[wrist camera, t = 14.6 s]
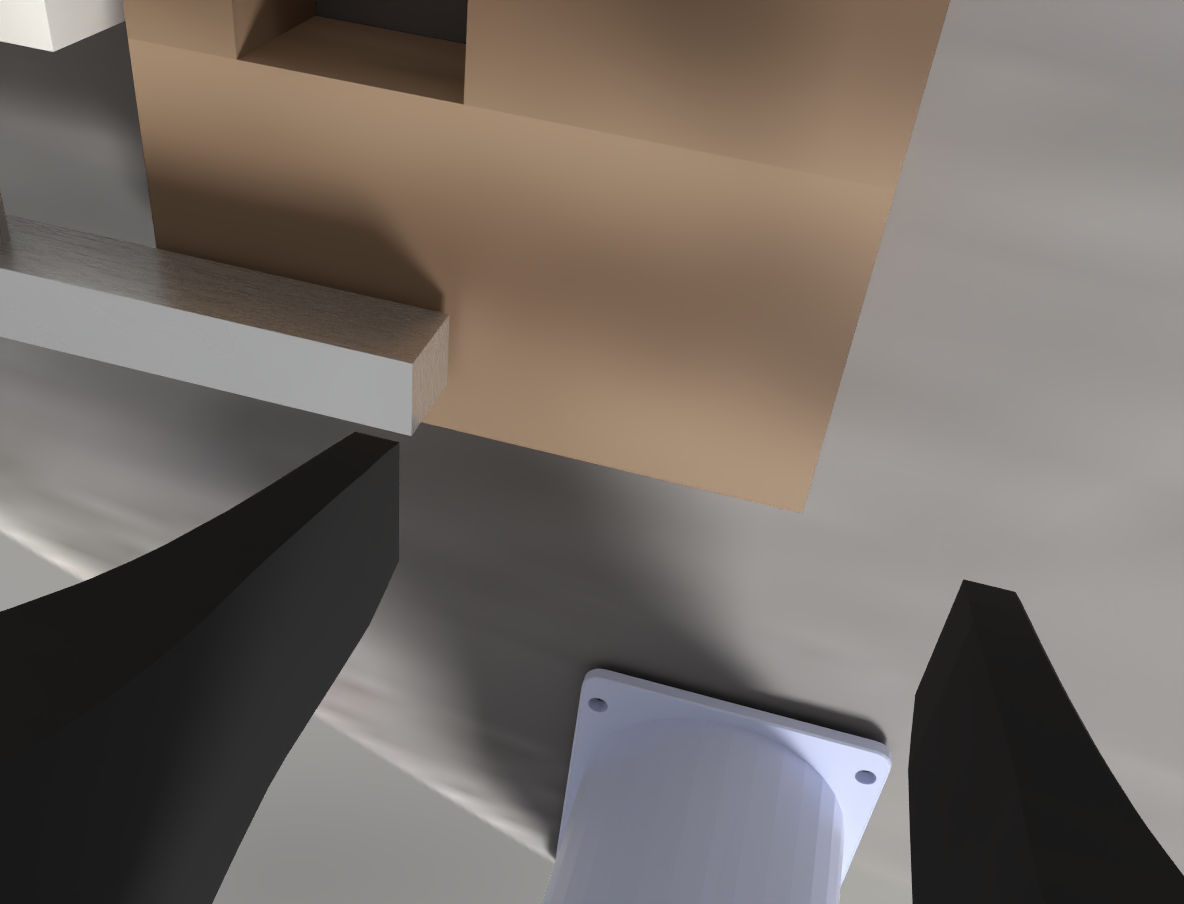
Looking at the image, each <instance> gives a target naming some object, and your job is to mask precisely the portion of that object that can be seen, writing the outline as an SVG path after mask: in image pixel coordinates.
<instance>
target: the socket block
mask: <svg viewBox="0 0 1184 904" xmlns="http://www.w3.org/2000/svg"><path fill="white" fill-rule="evenodd" d="M949 3H950V0H468V9H467V34H466V44H462V43H457V42H452V41H447V40H441V39H436V38H431V37H425V36H420V35H415V34H410V33H404V32H399V31H394V30H389V29H383V28H378V27H373V26H368V25H362V24H357V23H352V22H347V21H341V20H336V19H331V18H326V17H320V16H316V12H315V0H123V7H124V15H125V22H126V29H127V36H128V44H129V51H130V58H131V65H132V73H133V80H134V87H135V94H136V102H137V109H138V116H139V123H140V131H141V138H142V145H143V153H144V160H145V167H146V174H147V182H148V189H149V196H150V203H151V211H152V218H153V225H154V232H155V240H156V247H157V249H161V250H165V251H170V252H174V253H179V254H183V255H187V256H192V257H196V258H201V259H205V260H210V261H214V262H219V263H223V264H227V265H232V266H236V267H241V268H245V269H250V270H254V271H259V272H263V273H267V274H272V275H276V276H281V277H285V278H290V279H294V280H299V281H303V282H307V283H312V284H316V285H321V286H325V287H330V288H334V289H339V290H343V291H347V292H352V293H356V294H361V295H365V296H370V297H374V298H379V299H383V300H388V301H392V302H396V303H401V304H405V305H410V306H414V307H419V308H423V309H428V310H432V311H436V312H441V313H445V314H450V315H449V343H448V370H447V385H446V386H445V388H444V389H443V391H442V392H441V393H440V395H439V396H438V398H437V399H436V401H435V402H434V404H433V405H432V407H431V408H430V410H429V411H428V413H427V414H426V416H425V417H424V418H423V420H422V421H421V422H423V423H427V424H431V425H435V426H439V427H443V428H448V429H452V430H456V431H460V432H464V433H468V434H473V435H477V436H481V437H485V438H489V439H494V440H498V441H502V442H506V443H510V444H514V445H519V446H523V447H527V448H531V449H535V450H540V451H544V452H548V453H552V454H556V455H560V456H565V457H569V458H573V459H577V460H581V461H585V462H590V463H594V464H598V465H602V466H606V467H611V468H615V469H619V470H623V471H627V472H631V473H636V474H640V475H644V476H648V477H652V478H656V479H661V480H665V481H669V482H673V483H677V484H682V485H686V486H690V487H694V488H698V489H702V490H707V491H711V492H715V493H719V494H723V495H727V496H732V497H736V498H740V499H744V500H748V501H753V502H757V503H761V504H765V505H769V506H773V507H778V508H782V509H786V510H790V511H794V512H798V513H803V510H804V506H805V503H806V500H807V496H808V493H809V489H810V486H811V482H812V479H813V475H814V472H815V468H816V465H817V461H818V458H819V454H820V451H821V447H822V444H823V440H824V437H825V433H826V430H827V427H828V423H829V420H830V416H831V413H832V409H833V406H834V402H835V399H836V395H837V392H838V388H839V385H840V381H841V378H842V374H843V371H844V367H845V364H846V360H847V357H848V354H849V350H850V347H851V343H852V340H853V336H854V333H855V329H856V326H857V322H858V319H859V315H860V312H861V308H862V305H863V301H864V298H865V294H866V291H867V288H868V284H869V281H870V277H871V274H872V270H873V267H874V263H875V260H876V256H877V253H878V249H879V246H880V242H881V239H882V235H883V232H884V228H885V225H886V221H887V218H888V215H889V211H890V208H891V204H892V201H893V197H894V194H895V190H896V187H897V183H898V180H899V176H900V173H901V169H902V166H903V162H904V159H905V155H906V152H907V148H908V145H909V142H910V138H911V135H912V131H913V128H914V124H915V121H916V117H917V114H918V110H919V107H920V103H921V100H922V96H923V93H924V89H925V86H926V82H927V79H928V76H929V72H930V69H931V65H932V62H933V58H934V55H935V51H936V48H937V44H938V41H939V37H940V34H941V30H942V27H943V23H944V20H945V16H946V13H947V9H948V6H949Z"/></svg>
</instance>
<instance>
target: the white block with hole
mask: <svg viewBox="0 0 1184 904" xmlns="http://www.w3.org/2000/svg"><path fill="white" fill-rule="evenodd" d="M124 21H125V15H124V7H123V0H0V41H2V42H7V43H12V44H17V45H22V46H27V47H32V48H36V49H41V50H46V51H51V52H54V51H57V50H59V49H61V48H64V47H66V46H68V45H71V44H73V43H75V42H78V41H80V40H82V39H85V38H87V37H89V36H92V35H94V34H96V33H98V32H101V31H103V30H105V29H108V28H110V27H112V26H115V25H117V24H119V23H122V22H124Z"/></svg>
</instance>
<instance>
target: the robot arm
mask: <svg viewBox="0 0 1184 904" xmlns="http://www.w3.org/2000/svg"><path fill="white" fill-rule="evenodd" d="M398 561H399V442H395V441H391V440H387V439H383V438H379V437H374V436H370V435H366V434H362V433H358V432H354V433H353V434H351V435H349V436H348V437H346V438H344V439H343V440H341V441H339V442H338V443H336V444H335V445H333V446H331V447H330V448H328V449H327V450H325V451H323V452H322V453H320V454H319V455H317V456H315V457H314V458H312V459H311V460H309V461H308V462H306V463H304V464H303V465H301V466H300V467H298V468H297V469H295V470H293V471H292V472H290V473H289V474H287V475H286V476H284V477H282V478H281V479H279V480H278V481H276V482H274V483H273V484H271V485H270V486H268V487H266V488H265V489H263V490H261V491H260V492H258V493H256V494H255V495H253V496H251V497H250V498H248V499H246V500H245V501H243V502H241V503H240V504H238V505H237V506H235V507H233V508H232V509H230V510H228V511H226V512H225V513H223V514H221V515H219V516H217V517H215V518H214V519H212V520H210V521H208V522H206V523H204V524H203V525H201V526H199V527H197V528H195V529H193V530H192V531H190V532H188V533H186V534H184V535H182V536H181V537H179V538H177V539H175V540H173V541H171V542H170V543H168V544H166V545H164V546H162V547H160V548H158V549H156V550H154V551H152V552H149V553H147V554H145V555H143V556H141V557H139V558H137V559H135V560H132V561H130V562H128V563H126V564H123V565H121V566H119V567H117V568H114V569H112V570H110V571H107V572H105V573H103V574H100V575H98V576H96V577H94V578H91V579H89V580H86V581H84V582H81V583H79V584H76V585H74V586H71V587H68V588H65V589H63V590H60V591H57V592H54V593H52V594H49V595H46V596H43V597H40V598H38V599H35V600H32V601H29V602H27V603H24V604H21V605H18V606H16V607H13V608H10V609H7V610H5V611H1V612H0V904H212V903H213V900H214V898H215V896H216V894H217V892H218V890H219V888H220V885H221V883H222V881H223V879H224V877H225V875H226V873H227V871H228V869H229V866H230V864H231V862H232V860H233V858H234V856H235V854H236V852H237V849H238V847H239V845H240V843H241V841H242V839H243V837H244V835H245V833H246V831H247V829H248V827H249V825H250V823H251V821H252V819H253V817H254V815H255V813H256V811H257V809H258V807H259V805H260V803H261V801H262V799H263V797H264V795H265V793H266V791H267V789H268V787H269V785H270V783H271V782H272V780H273V778H274V777H275V775H276V773H277V771H278V770H279V768H280V766H281V765H282V763H283V761H284V759H285V758H286V756H287V754H288V753H289V751H290V750H291V748H292V747H293V745H294V743H295V742H296V740H297V739H298V737H299V736H300V734H301V732H302V731H303V729H304V728H305V726H306V724H307V723H308V721H309V720H310V718H311V717H312V715H313V714H314V712H315V710H316V709H317V707H318V706H319V704H320V703H321V701H322V699H323V698H324V696H325V695H326V693H327V692H328V690H329V688H330V687H331V685H332V684H333V682H334V681H335V679H336V678H337V676H338V674H339V673H340V671H341V670H342V668H343V666H344V665H345V663H346V662H347V660H348V658H349V657H350V655H351V654H352V652H353V650H354V649H355V647H356V646H357V644H358V642H359V641H360V639H361V638H362V636H363V634H364V633H365V631H366V629H367V628H368V626H369V624H370V622H371V620H372V618H373V616H374V614H375V612H376V610H377V607H378V605H379V603H380V601H381V599H382V597H383V595H384V592H385V590H386V588H387V586H388V583H389V581H390V579H391V577H392V574H393V572H394V570H395V568H396V565H397V563H398ZM595 698H599V699H602V700H604V701H600V700H597V699H595ZM891 759H892V754H891V752H890V750H889V748H888V747H886V746H885V745H884V744H882V743H880V742H877V741H874V740H870V739H867V738H863V737H859V736H855V735H851V734H848V733H844V732H840V731H836V730H833V729H829V728H825V727H821V726H817V725H814V724H810V723H806V722H802V721H799V720H795V719H791V718H787V717H783V716H780V715H776V714H772V713H768V712H765V711H761V710H757V709H753V708H749V707H746V706H742V705H738V704H734V703H731V702H727V701H723V700H719V699H715V698H712V697H708V696H704V695H700V694H697V693H693V692H689V691H685V690H681V689H678V688H674V687H670V686H666V685H663V684H659V683H655V682H651V681H647V680H644V679H640V678H636V677H632V676H629V675H625V674H621V673H617V672H613V671H610V670H606V669H593V670H591V671H589V672H588V673H587V674H586V676H585V678H584V681H583V684H582V688H581V695H580V701H579V708H578V714H577V721H576V727H575V734H574V741H573V747H572V754H571V760H570V767H569V773H568V780H567V787H566V793H565V800H564V806H563V813H562V820H561V826H560V833H559V839H558V846H557V852H556V859H555V863H554V866H553V870H552V873H551V876H550V879H549V882H548V885H547V889H546V892H545V895H544V898H543V901H542V904H839V901H840V888H841V885H842V882H843V880H844V878H845V875H846V873H847V871H848V868H849V866H850V863H851V861H852V859H853V856H854V854H855V852H856V849H857V847H858V845H859V842H860V840H861V838H862V835H863V833H864V831H865V828H866V826H867V824H868V821H869V819H870V816H871V814H872V812H873V809H874V807H875V805H876V802H877V800H878V798H879V795H880V793H881V791H882V788H883V786H884V784H885V781H886V779H887V776H888V774H889V772H890V769H891ZM861 770H867V771H870V772H863V771H861ZM908 779H909V815H910V844H911V872H912V899H913V904H1184V876H1183V874H1182V873H1181V872H1180V870H1179V869H1178V868H1177V866H1176V865H1175V864H1174V862H1173V861H1172V860H1171V858H1170V857H1169V856H1168V854H1167V853H1166V852H1165V850H1164V849H1163V848H1162V846H1161V845H1160V844H1159V842H1158V841H1157V840H1156V838H1155V837H1154V836H1153V834H1152V833H1151V832H1150V830H1149V829H1148V827H1147V826H1146V824H1145V823H1144V822H1143V820H1142V819H1141V817H1140V816H1139V814H1138V813H1137V811H1136V810H1135V808H1134V807H1133V805H1132V804H1131V802H1130V800H1129V799H1128V797H1127V796H1126V794H1125V793H1124V791H1123V789H1122V788H1121V786H1120V785H1119V783H1118V782H1117V780H1116V778H1115V777H1114V775H1113V774H1112V772H1111V770H1110V769H1109V767H1108V765H1107V764H1106V762H1105V760H1104V759H1103V757H1102V755H1101V754H1100V752H1099V750H1098V749H1097V747H1096V745H1095V744H1094V742H1093V740H1092V738H1091V736H1090V735H1089V733H1088V731H1087V729H1086V728H1085V726H1084V724H1083V722H1082V720H1081V719H1080V717H1079V715H1078V713H1077V711H1076V710H1075V708H1074V706H1073V704H1072V703H1071V701H1070V699H1069V697H1068V695H1067V693H1066V691H1065V689H1064V687H1063V686H1062V684H1061V682H1060V680H1059V678H1058V676H1057V674H1056V672H1055V670H1054V668H1053V666H1052V664H1051V662H1050V660H1049V658H1048V656H1047V654H1046V652H1045V650H1044V648H1043V646H1042V644H1041V642H1040V640H1039V638H1038V636H1037V634H1036V632H1035V630H1034V628H1033V625H1032V623H1031V621H1030V619H1029V617H1028V615H1027V613H1026V611H1025V609H1024V607H1023V605H1022V603H1021V601H1020V599H1019V597H1018V596H1017V594H1016V592H1013V591H1009V590H1005V589H1001V588H997V587H992V586H988V585H984V584H980V583H976V582H972V581H968V580H963V582H962V584H961V587H960V589H959V592H958V594H957V596H956V599H955V601H954V603H953V606H952V608H951V611H950V613H949V615H948V618H947V620H946V623H945V625H944V627H943V630H942V632H941V634H940V637H939V639H938V642H937V644H936V646H935V649H934V651H933V654H932V656H931V658H930V661H929V663H928V665H927V668H926V670H925V673H924V675H923V677H922V680H921V682H920V684H919V687H918V689H917V692H916V694H915V703H914V713H913V723H912V732H911V743H910V755H909V767H908Z"/></svg>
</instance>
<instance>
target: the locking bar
mask: <svg viewBox="0 0 1184 904" xmlns="http://www.w3.org/2000/svg"><path fill="white" fill-rule="evenodd" d="M449 315H450V314H445V313H441V312H436V311H432V310H428V309H423V308H419V307H414V306H410V305H405V304H401V303H396V302H392V301H388V300H383V299H379V298H374V297H370V296H365V295H361V294H356V293H352V292H347V291H343V290H339V289H334V288H330V287H325V286H321V285H316V284H312V283H307V282H303V281H299V280H294V279H290V278H285V277H281V276H276V275H272V274H267V273H263V272H259V271H254V270H250V269H245V268H241V267H236V266H232V265H227V264H223V263H219V262H214V261H210V260H205V259H201V258H196V257H192V256H187V255H183V254H179V253H174V252H170V251H165V250H161V249H156V248H152V247H147V246H143V245H138V244H134V243H130V242H125V241H121V240H116V239H112V238H107V237H103V236H98V235H94V234H90V233H85V232H81V231H76V230H72V229H67V228H63V227H58V226H54V225H50V224H45V223H41V222H36V221H32V220H27V219H23V218H18V217H14V216H10V215H5V211H4V207H3V202H2V198H1V193H0V337H3V338H7V339H11V340H15V341H19V342H24V343H28V344H32V345H36V346H40V347H44V348H48V349H53V350H57V351H61V352H65V353H69V354H73V355H77V356H82V357H86V358H90V359H94V360H98V361H102V362H106V363H110V364H115V365H119V366H123V367H127V368H131V369H135V370H139V371H144V372H148V373H152V374H156V375H160V376H164V377H168V378H173V379H177V380H181V381H185V382H189V383H193V384H197V385H202V386H206V387H210V388H214V389H218V390H222V391H226V392H231V393H235V394H239V395H243V396H247V397H251V398H255V399H260V400H264V401H268V402H272V403H276V404H280V405H284V406H289V407H293V408H297V409H301V410H305V411H309V412H313V413H318V414H322V415H326V416H330V417H334V418H338V419H342V420H347V421H351V422H355V423H359V424H363V425H367V426H371V427H375V428H380V429H384V430H388V431H392V432H396V433H400V434H404V435H409V436H412V435H413V433H414V432H415V430H416V429H417V427H418V426H419V424H420V423H421V421H422V420H423V418H424V417H425V416H426V414H427V413H428V411H429V410H430V408H431V407H432V405H433V404H434V402H435V401H436V399H437V398H438V396H439V395H440V393H441V392H442V391H443V389H444V388H445V386H446V385H447V370H448V343H449Z"/></svg>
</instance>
